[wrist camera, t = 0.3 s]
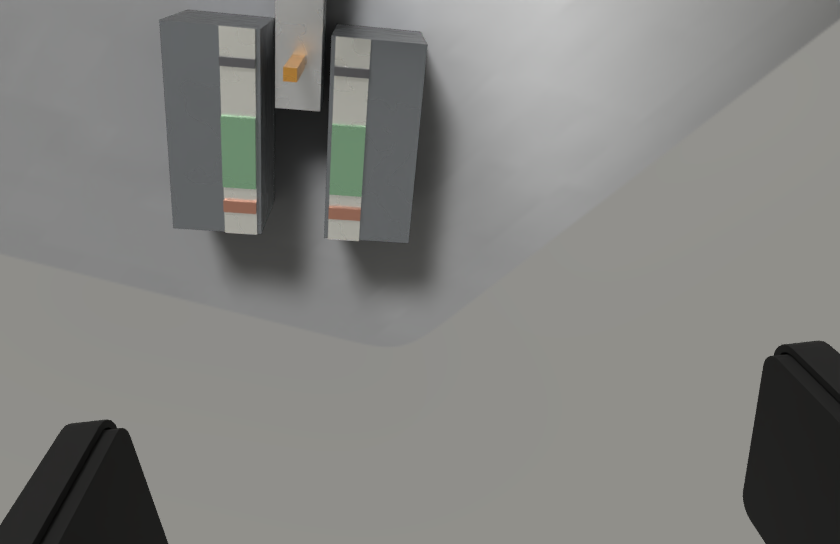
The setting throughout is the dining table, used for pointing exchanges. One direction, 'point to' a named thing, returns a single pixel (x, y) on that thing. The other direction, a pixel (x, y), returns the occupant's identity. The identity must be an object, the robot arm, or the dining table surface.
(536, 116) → the dining table surface
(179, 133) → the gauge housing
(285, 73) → the bar with dark endcap
